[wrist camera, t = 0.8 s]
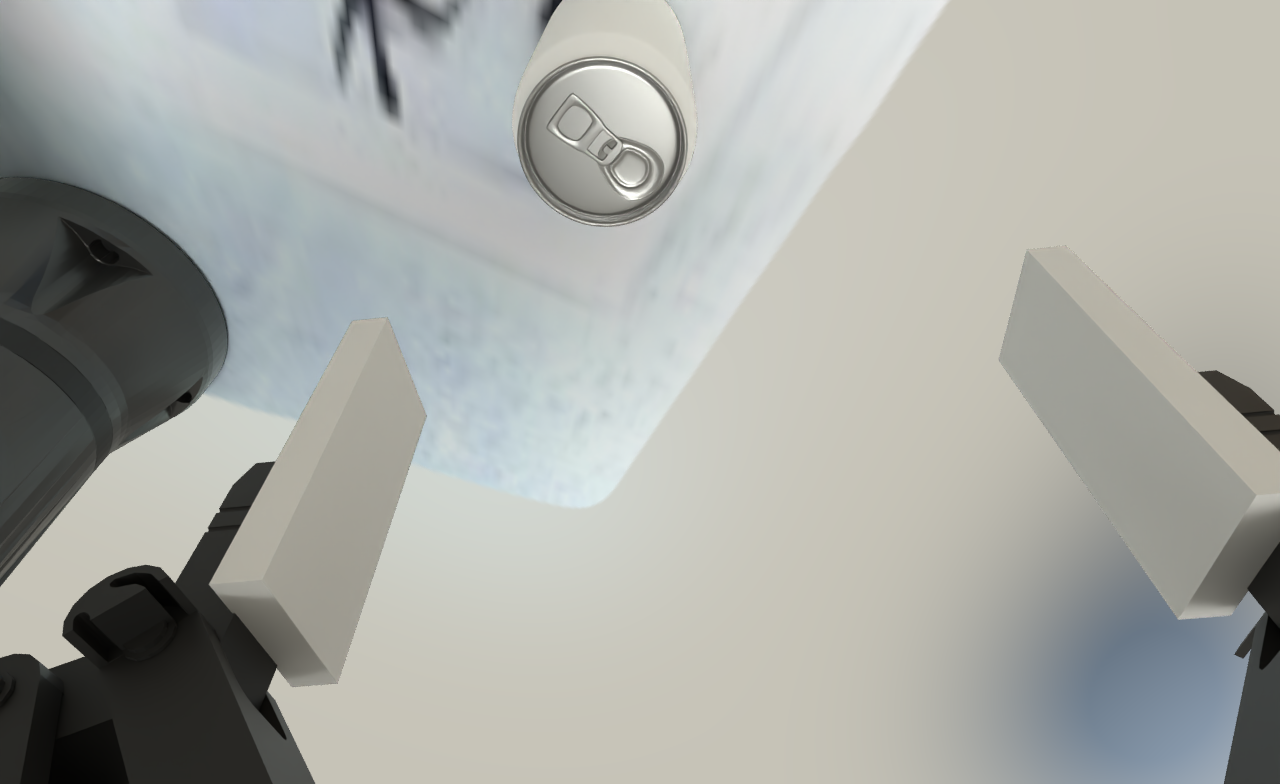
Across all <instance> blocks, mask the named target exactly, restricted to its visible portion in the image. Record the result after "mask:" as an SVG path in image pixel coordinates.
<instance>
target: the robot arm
mask: <svg viewBox="0 0 1280 784" xmlns="http://www.w3.org/2000/svg"><path fill="white" fill-rule="evenodd" d="M226 352H227V331H226V325H225V320H224V317H223V314H222V311H221V308H220V306H219V303H218V301H217V299H216V297H215V295H214V293H213V292H212V290H211V288H210V286H209V285H208V283H207V282H206V280H205V279H204V277H203V276H202V275H201V273H200V272H199V271H198V269H197V268H196V267H195V266H194V265H193V263H192V262H191V261H190V260H189V259H188V258H187V257H186V256H185V255H184V254H183V252H181V251H180V250H179V249H178V248H177V247H176V246H175V245H174V244H173V243H172V242H171V241H170V240H169V239H167V238H166V237H165V236H164V235H163V234H161V233H160V232H159V231H158V230H156V229H155V228H154V227H152V226H151V225H149V224H148V223H147V222H145V221H144V220H142V219H141V218H139V217H138V216H136V215H134V214H133V213H131V212H129V211H128V210H126V209H124V208H123V207H121V206H119V205H117V204H115V203H113V202H111V201H109V200H107V199H104V198H102V197H100V196H98V195H95V194H93V193H90V192H88V191H85V190H82V189H79V188H76V187H73V186H70V185H66V184H63V183H58V182H54V181H49V180H43V179H35V178H21V177H12V178H0V586H1V585H2V584H3V583H4V582H5V580H6V579H7V578H8V577H9V575H10V574H11V573H12V572H13V570H14V569H15V568H16V567H17V566H18V564H19V563H20V562H21V560H22V559H23V558H24V557H25V556H26V554H27V553H28V552H29V551H30V550H31V548H32V547H33V546H34V544H35V543H36V542H37V541H38V540H39V539H40V537H41V536H42V535H43V533H44V532H45V531H46V530H47V529H48V527H49V526H50V525H51V524H52V523H53V521H54V520H55V519H56V518H57V516H58V515H59V514H60V513H61V511H62V510H63V509H64V508H65V507H66V505H67V504H68V503H69V502H70V500H71V499H72V498H73V497H74V496H75V494H76V493H77V492H78V491H79V489H80V488H81V487H82V486H83V485H84V483H85V482H86V481H87V480H88V478H89V477H90V476H91V475H92V473H93V472H94V471H95V470H96V469H97V467H98V466H99V465H100V464H101V463H102V462H103V460H104V459H105V458H106V457H107V456H108V455H109V454H110V453H112V452H113V451H115V450H117V449H119V448H120V447H122V446H124V445H126V444H127V443H129V442H131V441H133V440H134V439H136V438H138V437H139V436H141V435H143V434H145V433H147V432H148V431H150V430H152V429H154V428H155V427H157V426H159V425H161V424H163V423H164V422H166V421H168V420H169V419H171V418H173V417H175V416H177V415H178V414H180V413H182V412H183V411H184V410H186V409H188V408H189V407H190V406H191V405H192V404H193V403H195V402H196V401H197V400H198V399H199V398H200V396H201V395H202V394H203V393H204V391H205V390H206V389H207V387H208V386H209V385H210V384H211V382H212V381H213V380H214V378H215V377H216V376H217V375H218V373H219V371H220V370H221V368H222V365H223V363H224V360H225V357H226ZM999 361H1000V363H1001V364H1002V366H1003V367H1004V369H1005V370H1006V371H1007V373H1008V374H1009V376H1010V377H1011V379H1012V380H1013V381H1014V383H1015V384H1016V386H1017V387H1018V389H1019V390H1020V392H1021V393H1022V394H1023V396H1024V397H1025V399H1026V400H1027V402H1028V403H1029V405H1030V406H1031V408H1032V409H1033V410H1034V412H1035V413H1036V415H1037V416H1038V418H1039V419H1040V420H1041V422H1042V423H1043V425H1044V426H1045V428H1046V429H1047V430H1048V432H1049V433H1050V435H1051V436H1052V438H1053V439H1054V441H1055V442H1056V444H1057V445H1058V447H1059V448H1060V449H1061V451H1062V452H1063V454H1064V455H1065V457H1066V458H1067V459H1068V461H1069V462H1070V464H1071V465H1072V467H1073V468H1074V470H1075V471H1076V473H1077V474H1078V475H1079V477H1080V478H1081V480H1082V481H1083V483H1084V484H1085V485H1086V487H1087V488H1088V490H1089V491H1090V493H1091V494H1092V496H1093V497H1094V499H1095V500H1096V501H1097V503H1098V504H1099V506H1100V507H1101V509H1102V510H1103V511H1104V513H1105V514H1106V516H1107V517H1108V519H1109V520H1110V522H1111V523H1112V525H1113V526H1114V527H1115V529H1116V530H1117V532H1118V533H1119V535H1120V536H1121V537H1122V539H1123V540H1124V542H1125V543H1126V545H1127V546H1128V548H1129V549H1130V551H1131V552H1132V553H1133V555H1134V556H1135V558H1136V559H1137V561H1138V562H1139V564H1140V565H1141V566H1142V568H1143V569H1144V571H1145V572H1146V574H1147V575H1148V577H1149V578H1150V579H1151V581H1152V582H1153V584H1154V585H1155V587H1156V588H1157V590H1158V591H1159V592H1160V594H1161V595H1162V597H1163V598H1164V600H1165V601H1166V603H1167V604H1168V605H1169V607H1170V608H1171V610H1172V611H1173V612H1174V614H1175V616H1176V617H1177V618H1178V619H1192V618H1204V617H1218V616H1231V615H1232V613H1233V612H1234V610H1235V609H1236V608H1237V606H1238V605H1239V603H1240V602H1241V600H1242V599H1243V597H1244V596H1245V595H1246V593H1247V592H1248V591H1249V592H1250V593H1251V594H1252V595H1253V597H1254V598H1255V599H1256V600H1257V601H1258V603H1259V604H1260V605H1261V606H1262V608H1263V609H1264V610H1265V611H1266V612H1265V613H1264V614H1263V616H1262V617H1261V618H1260V620H1259V621H1258V622H1257V624H1256V625H1255V626H1254V628H1253V629H1252V630H1251V631H1250V633H1249V634H1248V635H1247V637H1246V638H1245V639H1244V641H1243V642H1242V643H1241V645H1240V646H1239V648H1238V650H1237V651H1236V653H1235V655H1236V656H1239V657H1241V658H1244V657H1245V656H1246V654H1247V653H1248V652H1249V651H1250V649H1251V652H1250V657H1249V662H1248V667H1247V673H1246V677H1245V682H1244V687H1243V692H1242V697H1241V702H1240V707H1239V712H1238V717H1237V722H1236V726H1235V732H1234V736H1233V741H1232V746H1231V751H1230V756H1229V761H1228V766H1227V771H1226V776H1225V781H1224V784H1280V415H1275V414H1274V410H1273V409H1272V408H1271V407H1270V406H1269V405H1268V404H1267V403H1266V402H1265V401H1264V400H1262V399H1261V398H1260V397H1259V396H1258V395H1257V394H1256V393H1255V392H1254V391H1253V390H1251V389H1250V388H1249V387H1247V386H1244V385H1243V384H1241V383H1239V382H1237V381H1235V380H1234V379H1231V378H1230V377H1228V376H1226V375H1224V374H1222V373H1220V372H1218V371H1205V372H1197V371H1196V370H1195V369H1194V368H1193V367H1192V366H1191V365H1190V364H1189V363H1188V362H1187V361H1185V360H1184V359H1183V358H1182V357H1181V356H1180V355H1179V354H1178V353H1177V352H1176V351H1175V350H1174V349H1173V348H1172V347H1171V346H1170V345H1169V344H1168V343H1167V342H1166V341H1165V340H1164V339H1163V338H1162V337H1160V335H1158V334H1157V333H1156V332H1155V331H1154V330H1153V329H1152V328H1151V327H1150V326H1149V325H1148V324H1147V323H1146V322H1145V321H1144V320H1143V319H1142V318H1141V317H1140V316H1139V315H1138V314H1137V313H1136V312H1135V311H1134V310H1133V309H1131V307H1129V306H1128V305H1127V304H1126V303H1125V302H1124V301H1123V300H1122V299H1121V298H1120V297H1119V296H1118V295H1117V294H1116V293H1115V292H1114V291H1113V290H1112V289H1111V288H1110V287H1109V286H1108V285H1107V284H1106V283H1104V281H1103V280H1101V279H1100V278H1099V277H1098V276H1097V275H1096V274H1095V273H1094V272H1093V271H1092V270H1091V269H1090V268H1089V267H1088V266H1087V265H1086V264H1085V263H1084V262H1083V261H1082V260H1081V259H1080V258H1079V257H1078V256H1077V255H1076V254H1075V253H1073V252H1072V251H1071V250H1070V249H1069V248H1068V247H1067V246H1056V247H1047V248H1037V249H1028V250H1027V251H1026V254H1025V259H1024V262H1023V266H1022V271H1021V274H1020V278H1019V282H1018V286H1017V290H1016V294H1015V298H1014V302H1013V306H1012V310H1011V314H1010V317H1009V321H1008V325H1007V329H1006V333H1005V337H1004V341H1003V345H1002V349H1001V353H1000V357H999ZM425 419H426V413H425V411H424V408H423V405H422V403H421V400H420V398H419V395H418V393H417V390H416V388H415V385H414V383H413V380H412V378H411V375H410V373H409V370H408V368H407V365H406V363H405V360H404V358H403V355H402V353H401V350H400V347H399V345H398V342H397V340H396V337H395V335H394V332H393V330H392V327H391V325H390V322H389V320H388V317H384V318H375V319H365V320H356V321H352V322H351V324H350V326H349V328H348V329H347V331H346V333H345V335H344V337H343V339H342V340H341V342H340V344H339V346H338V348H337V350H336V352H335V353H334V355H333V357H332V359H331V361H330V363H329V364H328V366H327V368H326V370H325V372H324V374H323V375H322V377H321V379H320V381H319V383H318V385H317V386H316V388H315V390H314V392H313V394H312V396H311V397H310V399H309V401H308V403H307V405H306V407H305V409H304V410H303V412H302V414H301V416H300V418H299V420H298V421H297V423H296V425H295V427H294V429H293V431H292V433H291V434H290V436H289V438H288V440H287V442H286V443H285V445H284V447H283V449H282V451H281V453H280V455H279V457H278V458H277V460H276V461H275V462H265V463H256V464H255V465H254V466H253V467H252V468H251V469H250V470H249V471H247V472H246V473H245V474H244V475H243V476H242V477H241V478H240V479H239V480H238V481H237V482H236V483H235V484H234V485H233V486H232V488H231V490H230V491H229V493H228V494H227V496H226V498H225V500H224V501H223V503H222V505H221V507H220V508H219V509H220V512H219V513H216V515H215V517H214V518H213V520H212V522H211V523H210V525H209V527H208V529H209V531H208V532H205V534H204V535H203V537H202V539H201V540H200V542H199V544H198V545H197V547H196V549H195V551H194V552H193V554H192V556H191V557H190V559H189V561H188V562H187V564H186V566H185V568H184V569H183V571H182V573H181V574H180V576H179V578H178V579H177V581H176V583H174V582H173V581H172V580H171V578H170V577H169V576H168V575H167V574H166V573H165V572H164V571H163V570H162V569H161V568H160V567H155V566H150V565H143V566H137V567H132V568H127V569H125V570H122V571H120V572H118V573H115V574H113V575H111V576H108V577H107V578H105V579H104V580H102V581H101V582H99V583H98V584H96V585H95V586H93V587H92V588H90V589H89V590H88V591H87V592H86V593H85V594H84V595H83V596H82V597H81V598H80V599H79V600H78V601H77V602H76V603H75V604H74V605H73V607H72V609H71V610H70V612H69V614H68V615H67V617H66V619H65V621H64V625H63V634H62V636H63V637H64V638H65V639H66V640H68V641H69V642H70V643H71V644H72V645H73V646H74V647H75V648H76V649H78V650H79V651H80V652H81V653H82V654H83V655H84V656H85V657H82V658H79V659H77V660H74V661H71V662H68V663H65V664H62V665H59V666H56V667H54V668H51V669H47V668H46V667H45V666H44V665H43V664H41V663H40V662H39V661H38V660H36V659H35V658H34V657H33V656H31V655H30V654H12V655H9V656H5V657H2V658H0V784H315V782H314V780H313V778H312V776H311V774H310V772H309V770H308V768H307V766H306V763H305V761H304V759H303V757H302V755H301V753H300V751H299V749H298V747H297V745H296V743H295V741H294V738H293V736H292V734H291V732H290V730H289V728H288V726H287V724H286V722H285V720H284V718H283V716H282V714H281V712H280V709H279V707H278V705H277V703H276V701H275V700H274V698H273V697H272V696H271V695H270V694H269V693H268V691H267V690H268V688H269V685H270V683H271V680H272V678H273V676H274V673H275V671H276V668H277V669H278V670H279V672H280V673H281V674H282V675H283V677H284V678H285V679H286V680H287V682H288V683H289V684H290V685H291V686H292V687H298V686H311V685H325V684H337V683H338V681H339V678H340V675H341V671H342V669H343V666H344V663H345V660H346V657H347V653H348V651H349V648H350V645H351V642H352V639H353V636H354V633H355V630H356V627H357V624H358V621H359V618H360V615H361V612H362V609H363V605H364V603H365V599H366V597H367V594H368V590H369V588H370V585H371V581H372V579H373V576H374V572H375V570H376V566H377V563H378V561H379V557H380V555H381V551H382V549H383V545H384V542H385V539H386V536H387V533H388V530H389V527H390V524H391V521H392V518H393V515H394V512H395V509H396V506H397V503H398V500H399V497H400V494H401V491H402V488H403V485H404V482H405V479H406V476H407V473H408V470H409V467H410V464H411V461H412V458H413V455H414V452H415V449H416V446H417V443H418V440H419V437H420V434H421V431H422V428H423V425H424V422H425Z"/></svg>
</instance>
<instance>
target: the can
mask: <svg viewBox="0 0 1280 784" xmlns="http://www.w3.org/2000/svg"><path fill="white" fill-rule="evenodd" d="M512 128H513V137H514V142H515V146H516V150H517V153H518V156H519V159H520V162H521V166H522V168H523V171H524V173H525V176H526V178H527V180H528V181H529V183H530V185H531V186H532V188H533V189H534V191H535V192H536V193H537V194H538V196H539V197H540V198H541V199H542V200H543V201H544V202H545V203H546V204H547V205H548V206H550V207H551V208H552V209H553V210H555V211H556V212H558V213H559V214H561V215H563V216H565V217H567V218H569V219H571V220H573V221H576V222H579V223H582V224H586V225H591V226H599V227H612V226H620V225H625V224H629V223H632V222H635V221H637V220H640V219H642V218H644V217H646V216H647V215H649V214H651V213H652V212H654V211H655V210H656V209H658V208H659V207H660V206H661V205H662V204H663V203H664V202H665V201H666V200H667V199H668V198H669V197H670V195H671V194H672V193H673V191H674V190H675V188H676V186H677V185H678V183H679V182H680V181H681V179H682V178H683V176H684V174H685V173H686V171H687V169H688V167H689V164H690V162H691V159H692V156H693V153H694V149H695V144H696V137H697V112H696V104H695V97H694V91H693V84H692V78H691V72H690V66H689V61H688V55H687V50H686V45H685V40H684V36H683V32H682V29H681V26H680V24H679V21H678V19H677V17H676V15H675V14H674V12H673V10H672V9H671V7H670V6H669V5H668V3H667V2H666V1H665V0H562V2H561V3H560V4H559V5H558V7H557V8H556V10H555V11H554V13H553V15H552V17H551V18H550V20H549V22H548V24H547V26H546V28H545V30H544V32H543V34H542V36H541V38H540V40H539V42H538V44H537V46H536V48H535V50H534V53H533V55H532V57H531V59H530V61H529V63H528V65H527V67H526V70H525V72H524V74H523V76H522V78H521V81H520V84H519V86H518V89H517V92H516V96H515V100H514V106H513V115H512Z"/></svg>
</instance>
